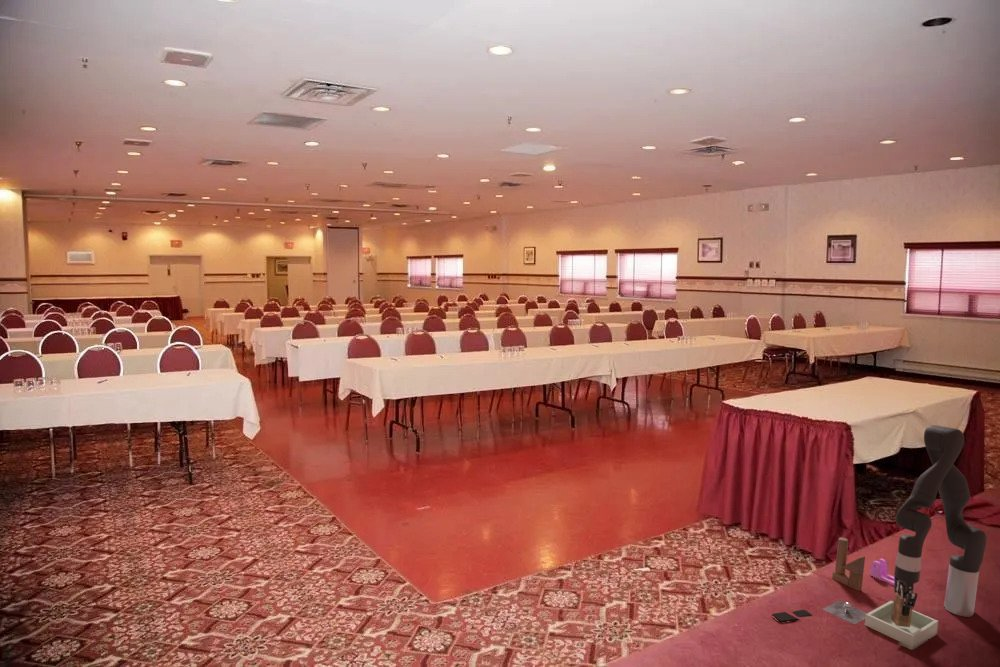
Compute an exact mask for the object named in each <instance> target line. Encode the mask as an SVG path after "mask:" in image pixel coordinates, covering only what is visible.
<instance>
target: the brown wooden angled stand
mask: <svg viewBox="0 0 1000 667" xmlns="http://www.w3.org/2000/svg"><path fill="white" fill-rule="evenodd" d="M836 549H837V550H836V551H837V552H836V560H835V570H834V571H832V577H831V579H832V580H833V581H836V582H837V583H840V584H842V585H844V586H847V587H849V588H851V589H853V590H855V591H858V592H860V591H862V588H863V580H864V579H863V578H864V572H865V563H866V562H865V561H866V556H862V557H859V558H856V559H855V560H852V561H851V562H849V563H847V559H848V550H849V539H848V538H847V537H846V538H845V537H841V536H840V537H839V538H838V541H837V548H836ZM846 571H849V574H848V573H846Z"/></svg>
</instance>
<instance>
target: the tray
mask: <svg viewBox="0 0 1000 667" xmlns="http://www.w3.org/2000/svg"><path fill="white" fill-rule="evenodd" d="M893 604H894V600H889V601H888V602H886V603H883V604H882V605H881V606H878V607H876V608H875V609H872V610H871V611H869V612H866V613H867V614H866V617H865V619H864V626H866V627H867V628H870V629H872V630H875V631H877V632H879V633H881V634H882V635H885V636H887V637H890V638H891V639H894V640H896V641H897V642H898V643H897V644H898V645H901V646H902V647H904V648H907V649H909V650H911V651H914V650H915V649H916V648H918V647H920V646H921V645H922V644H924V643H926V642H928V641H929V640H930V639H932V638H933V637H935V636H937V634H938V627H939V620H938V619H935V618H932V617H931V616H928V615H926V614H923V613H921V612H918V611H916V610H914V609H912V616H911V623H910V627H903V626H896V625H895V623H894V622H893V620H892V619H891V618H892V611H893ZM928 639H929V640H928Z"/></svg>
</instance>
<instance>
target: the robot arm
mask: <svg viewBox="0 0 1000 667" xmlns="http://www.w3.org/2000/svg"><path fill="white" fill-rule="evenodd" d="M923 442H924V445H925V449H926V452H927V454H928V456H929V459H930V462H931V464H932V466H930V467H929V468H928V469H926V470H925V471H924V472H922V473H921V474H920V475H919V477H917V479H916V481H915V483H914V486H913V488H912V490H911V493H910V495H909V497H908V498H907V499H906V501H905V502H904V503H903V505H901V507H900V508H899V509H898V511H897V512H896V514H895V523H896V525H898V527H899V528H902V529H906V530H908V531H911V532H913V533H915V534H914V535H913V534H902V535H900V537H899V540H898V548H897V554H896V558H895V564H894V573H893V574H894V576H893V577H894V586H893V587H894V589H893V590H894V594H895V593H901V598H903V606H902V615H903V616H909V613H910V607H913V608H915V605H916V602H917V598H918V593H917V592H914V591H915V586H914V584H917V583H919V582H920V577H921V568H922V552H923V546H924V542H925V540H926V538H927V536H928V534H929V532H930V531H931V528H932V523H933V521H932V518H931V517H930V516H929V515H928V514H927V513H924V512H921V511H918V510H917V509H919V508H921V509H922V508H923V509H931V507H933V505H934V503H935V501H936V500H935V499H936V498H937V495H938V494H939V496H940V499H941V503H942V508H943V512H944V518H945V528H946V534H947V535H946V536H947V539H948V541H949V542H950V543H951V544H952V545H953V546H956V547H958V548H960V549H962V550H964V552H963V554H954V555H951V556H950V559H949V565H948V572H947V582H946V589H945V595H944V604H943V608H944V607H945V608H944V609H945V610H946V611H948V612H949V613H950V614H951V613H952V614H953V615H956V616H959V617H967V618H968V617H969V618H970V617H972V616H973V615H974V614H975V605H976V604H975V603H976V597H977V592H978V590H977V589H978V583H979V574H980V568H981V566H982V564H983V561H984V557H985V556H984V555H985V552H986V547H987V546H986V545H987V535H986V533H985V531H984V530H982V529H980V528H977V527H976V526H973V525H971V524H968V523H966V521H965V518H964V515H963V511H964V509H965V508H966V507H967V505H968V504H969V502H970V499H971V493H970V488H969V484H968V480H967V479H966V476H965V475H964V474H963V473H962V472H961V471H960V470H959V468H958V467H957V466H956V465H955V464H954V463H955V462H956V460H957V459H958V457H959V455H960V453H961V451H962V449H963V448H964V445H965V435H964V433H963V431H961V430H960V429H958V428H954V427H948V426H942V425H928V426H927V427H926V428H925V430H924V432H923ZM938 492H939V493H938ZM904 595H907V596H904Z"/></svg>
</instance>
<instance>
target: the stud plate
mask: <svg viewBox="0 0 1000 667" xmlns="http://www.w3.org/2000/svg"><path fill="white" fill-rule="evenodd" d="M822 610H823V611H825V612H827V613H830V614H832V615H833V616H836V617H837V618H839V619H842V620H843V621H845V622H848V623H850V624H851V625H857V624H859V623H860V622H862V621H865V617H866V614H867V613H868V612H866V611H865V610H862V609H859V608H858V607H855V606H853V605H852V604H851V603H850V602H847V601H846V602H845V601H842V600H838V601H836V602H834V603H832V604H830V605H828V606H826V607H824V608H822Z"/></svg>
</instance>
